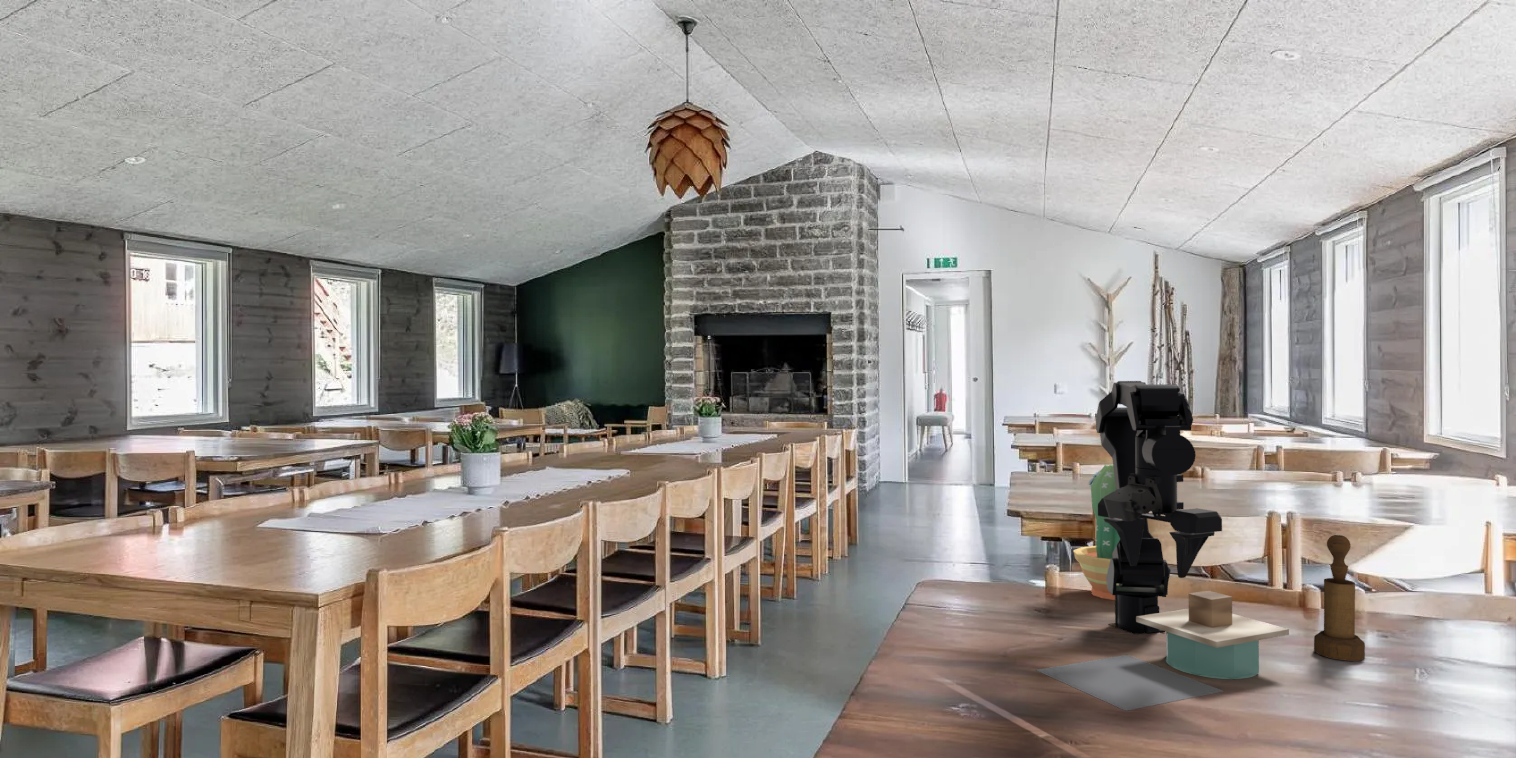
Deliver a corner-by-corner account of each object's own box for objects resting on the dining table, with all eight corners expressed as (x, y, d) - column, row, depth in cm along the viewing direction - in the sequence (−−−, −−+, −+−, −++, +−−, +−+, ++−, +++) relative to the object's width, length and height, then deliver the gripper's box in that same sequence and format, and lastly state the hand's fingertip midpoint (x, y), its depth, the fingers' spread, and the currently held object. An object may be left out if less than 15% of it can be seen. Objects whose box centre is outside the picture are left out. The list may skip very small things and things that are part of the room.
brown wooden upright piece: (1373, 662, 132) (1372, 540, 132) (1324, 660, 133) (1323, 539, 133) (1353, 648, 139) (1352, 532, 139) (1306, 646, 140) (1306, 531, 140)
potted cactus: (1160, 589, 177) (1159, 462, 177) (1158, 608, 163) (1157, 470, 163) (1077, 582, 184) (1076, 460, 184) (1069, 599, 170) (1068, 467, 170)
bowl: (1147, 663, 133) (1147, 622, 133) (1206, 652, 138) (1206, 613, 138) (1216, 689, 122) (1216, 645, 122) (1278, 677, 127) (1278, 634, 127)
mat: (1035, 674, 128) (1035, 669, 128) (1126, 658, 135) (1126, 654, 135) (1125, 715, 113) (1125, 710, 113) (1224, 695, 119) (1224, 691, 119)
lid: (1136, 621, 134) (1135, 589, 134) (1204, 611, 139) (1204, 580, 139) (1216, 647, 121) (1216, 612, 121) (1288, 634, 126) (1288, 600, 126)
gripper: (1070, 464, 141) (1070, 564, 141) (1165, 476, 123) (1166, 590, 124) (1124, 461, 145) (1125, 558, 145) (1224, 472, 128) (1225, 582, 128)
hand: (1156, 571), depth 135 cm, fingers open, 9 cm apart
